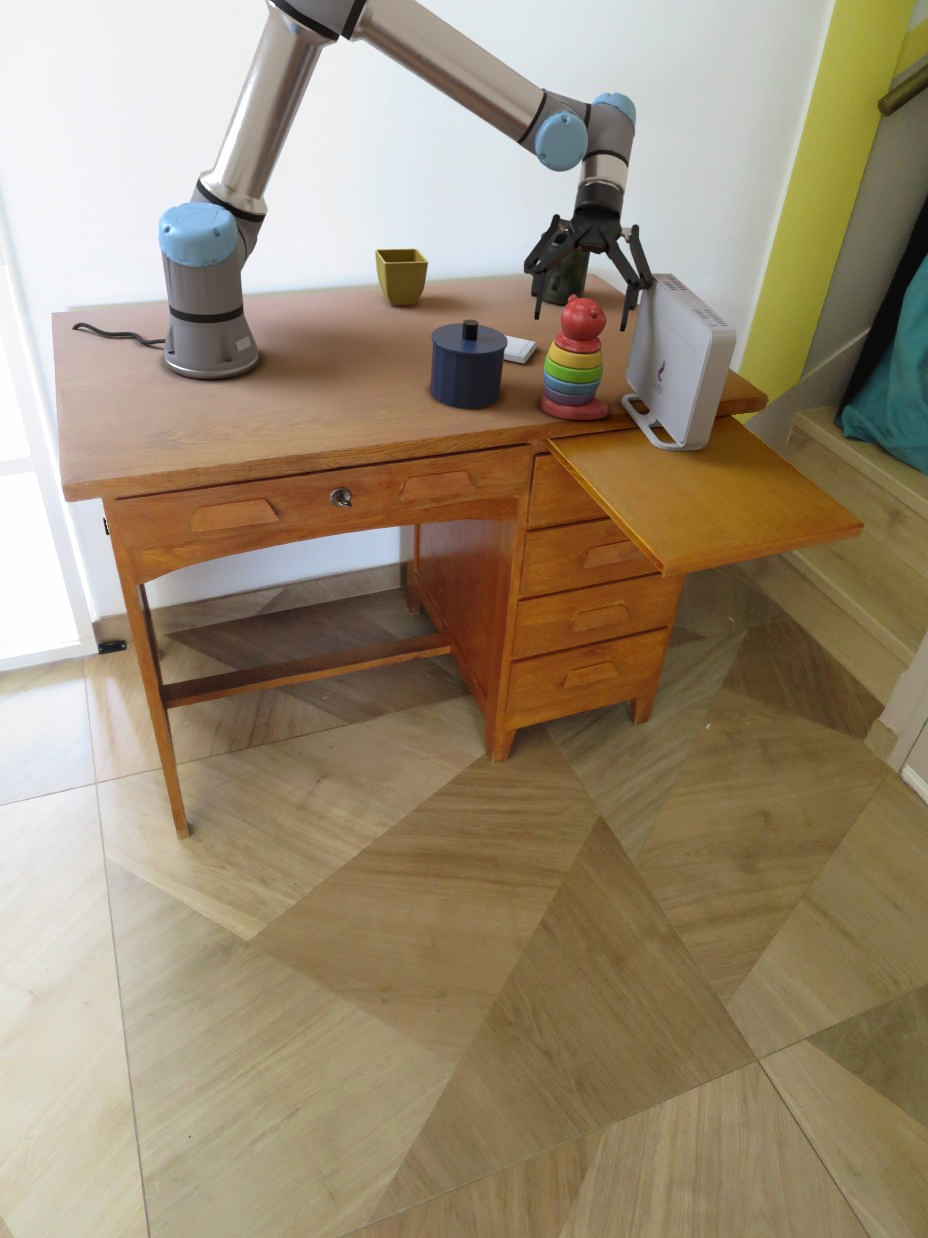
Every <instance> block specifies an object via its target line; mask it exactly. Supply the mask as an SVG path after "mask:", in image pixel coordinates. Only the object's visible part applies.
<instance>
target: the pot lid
mask: <svg viewBox="0 0 928 1238" xmlns="http://www.w3.org/2000/svg"><path fill="white" fill-rule="evenodd" d="M462 321H463V322H462V323H461V322H459V323H458V322H457V323H449V324H444V325H441V326H438V327H437V328H435V329H433V331H432V332H431V335H430V337H431V338H430V340H431V342H432V344H433V343H434V344H435V345H436V346H437V347H439V348H441V349H443V350H445V351H448V352H451V353H454V354H459V355H466V356H487V355H493V354H496V353H499V352H501V351H503V350H504V349H505V348H506V347H507V343H508V340H507V338H506V336H507V335H506V334H504V333H503V332H502V331H500V330H498V329H495V328H493V327H490V326H486V325H482V324H479V321H478V320H476V319H470V318H469V319H464V320H462ZM505 335H506V336H505Z"/></svg>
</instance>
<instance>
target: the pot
mask: <svg viewBox="0 0 928 1238" xmlns="http://www.w3.org/2000/svg"><path fill="white" fill-rule="evenodd" d="M504 352H505V349H504V350H503V351H501V352H499V353H496V354H493V355H487V356H466V355H459V354H454V353H451V352H448V351H445V350H443V349H441V348H439V347H437V346H436V345H435V344H434V343H433V342H432V352H431V370H430V384H429V386H430V387H429V389H430V394H431V395H432V397H433V398H434V399H435V400H436V401H438V402H439V403H441V404H443V405H445V406H449V407H453V408H457V409H465V410H468V409H469V410H476V409H483V408H487V407H490V406H492V405H494V404H496V403H498V401H499V399H500V394H501V387H502V380H503V379H502V378H503V369H504V361H505V360H504Z"/></svg>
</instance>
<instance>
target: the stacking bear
mask: <svg viewBox="0 0 928 1238" xmlns="http://www.w3.org/2000/svg"><path fill="white" fill-rule="evenodd" d="M607 323H608V322H607V317H606V315H605V313H604V311H603V309H602V306H600V305H599V303H598V302H596V301H595V300H593V299H591V298H587V297H583V298H578V297H577V296H576V295H574V294H573V295H571V296H570V297H569V299H568V304H567V305H564V307H563V309H562V312H561V316H560V324H561V331H560V332H559V333H558V334H557V335H556V336H555V338H554V339H553V341H552V342H551V344H550V346H549V349H548V351H547V352H548V353H547V354H546V357H545V360H544V366H543V373H542V374H543V375H542V378H543V389H544V391H543V394H542V396H541V398H540V402H539V405H540V407H541V409H542V411H544V412H545V413H547V414H549V415H550V416H552V417H555V418H558V419H562V420H571V421H592V420H593V421H594V420H599V419H603V418H606V417H607V416H608V414H609V407H608V405H607V404H606V403H605V402H604V401H602V400H600V399H599V398H597V397H595V396H596V393H597V392H598V391H597V390H598V389H599V387H600V384H601V381H602V378H603V377H602V376H603V373H604V361H603V360H604V353H603V351H604V350H603V347H602V345H603V344H602V341H601V339H600V338H599V336H600V335H601V333H602V332H603V331H604V329H605V327H606V325H607ZM605 412H606V413H605Z"/></svg>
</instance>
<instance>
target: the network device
mask: <svg viewBox="0 0 928 1238" xmlns="http://www.w3.org/2000/svg"><path fill="white" fill-rule="evenodd" d="M651 274H652V277H653V281H652V284H651V287H650V289H649V290H645V289H643V290H641V295H640V300H639V305H638V310H637V315H636V320H635V324H634V330H633V334H632V339H631V344H630V349H629V354H628V359H627V363H626V369H625V379H626V380H625V381H626V383H627V384H628V385H629V386H630V388H632V390H633V391H634V392H635V393H628V394H627V393H626V394H624V395H623V396H622V397H621V401H620V403H621V405H622V406H623V408H624V409H625V410H626V412H627V413H628V415H629V416H630V417H631V418H632V420H633V421H634V422H635V423H636V425H637V426H638V428H639V429H640V430H641V431H642V433H643V434H644V435H645V437H646V438H647V440H649V442H650V443H651V445H653V446H655V447H656V448H658V449H662V450H665V451H671V452H680V451H697V450H700V449H703V448H704V447H705V446H707V445H708V443H709V441H710V437H711V434H712V429H713V426H714V422H715V419H716V415H717V413H718V409H719V405H720V402H721V398H722V394H723V391H724V387H725V385H726V384H725V383H726V380H727V376H728V373H729V370H730V366H731V362H732V359H733V355H734V352H735V348H736V345H737V340H738V339H737V338H738V336H737V331H736V329H735V327H734V326H733V325H732V324H730V323H729V322H727V320H725V319H724V317H722V316H721V315H720V314H718V313H717V312H716V311H715V310H714V309H713V308H712V307H710V306H709V305H708V304H707V303H706V302H705V301H703V300H702V299H701V298H700V297H699V296H698V295H697V294H696V293H695V292H693V291H692V290H691V289H690V288H689V287H688V286H686V285H685V284H684V283H683V282H682V281H681V280H680V279H679V278H677V277H676V276H675V275H674V274H673V273H654V272H653V273H652V272H651ZM630 401H641V402H643V403H644V405H645V406H646V407H647V409H648V410H649V411H648V413H646V414H642V413H639V412H638V411H637V410H636V409H635V407H633V405H632V404H631V403H630ZM660 427H661V428H664V430H665V431H666V432H667V433H668V434H669V436H670V437H671V439H673V440H674V443H666V442H663V441H661V440H660V439H659V438H658V437H657V435H655V433H654V432H653V431H652V429H651V428H660Z"/></svg>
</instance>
